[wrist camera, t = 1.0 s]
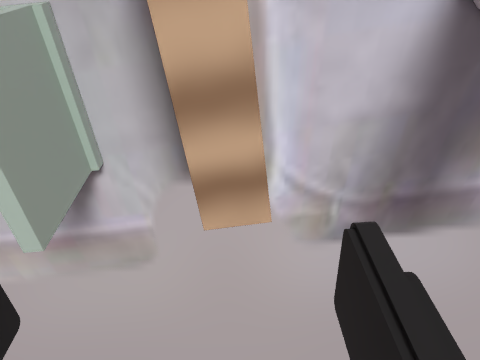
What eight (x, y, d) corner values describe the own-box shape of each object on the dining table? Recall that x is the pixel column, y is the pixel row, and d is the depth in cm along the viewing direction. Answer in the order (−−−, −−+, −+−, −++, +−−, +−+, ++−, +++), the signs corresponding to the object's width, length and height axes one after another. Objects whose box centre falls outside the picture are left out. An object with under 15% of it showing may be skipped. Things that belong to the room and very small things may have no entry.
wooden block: (144, -101, 21) (118, -116, 16) (230, -116, 21) (231, -136, 16) (207, 185, 32) (203, 230, 27) (264, 177, 31) (271, 221, 26)
